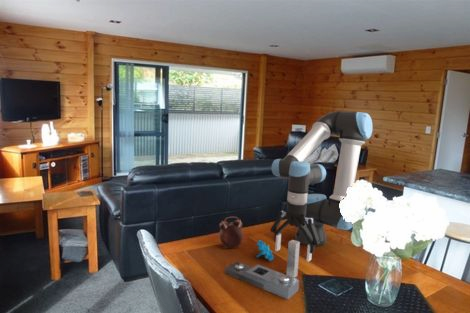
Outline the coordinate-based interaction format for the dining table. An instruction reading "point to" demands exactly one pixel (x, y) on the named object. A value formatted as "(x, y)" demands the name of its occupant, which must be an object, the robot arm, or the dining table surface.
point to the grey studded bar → (265, 279)
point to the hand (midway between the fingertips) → (292, 255)
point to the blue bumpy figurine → (264, 250)
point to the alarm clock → (231, 233)
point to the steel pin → (293, 258)
